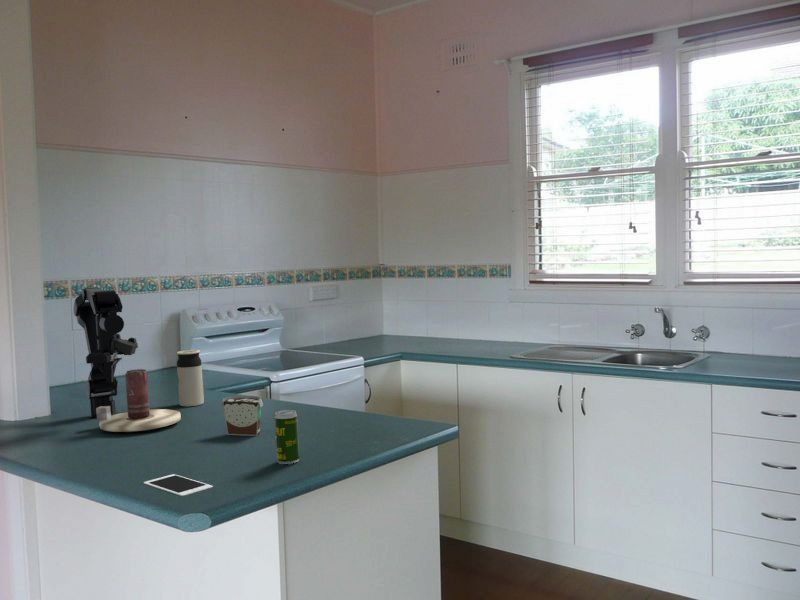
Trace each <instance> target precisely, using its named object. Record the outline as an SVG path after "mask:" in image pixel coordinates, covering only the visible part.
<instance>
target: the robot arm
mask: <svg viewBox="0 0 800 600" xmlns="http://www.w3.org/2000/svg"><path fill="white" fill-rule="evenodd" d="M73 302H74V304H73V315H74V317H76V322H77V324H79V326H80V327H82V328H83V329H84V330H83V331H84V335H85V341H86V342H85V343H86V345H87V351H88V354H87V355H86V357H85V360H86V361H85V362H86V364H90V367H91V368H90V372H89V373H88V377H87V381H86V386H85V397H86V398H87V399H88V400H89V404H90V414H91V415H89V416H88V418H93V419H94V418H97V413H96V408H98V407H100V406H110V410H111V416H112V415H115V414H117V411H116V401H115V399H114V397H116V396H118V384H119V383H118V382H119V381H118V380H117V378H116V376H115V372H116V367H117V365H118V363H119V362H120V361H122V360H123V357H119V355H120V356H121V355H123V356H132V355H135V353H136V350H137V349H138V348H139V346H138V342H137V338H135V337H129V338H128V339H127V338H126V339H123V338H122V336H121V334H120V332H122V331H123V329H124V326H125V321H124V319H123V318H122V316H121V315H118V313H122V311H123V304H122V301H121V298H120V296H119V294H118V293H116V290H115V289H109V290H107V289H106V290H103V289H100V288H99V287H97V286H96V287H95V286H94V287H84V288H82V289H81V292H80V294H79V295H78V296H77V297H76V298H75V299H74V301H73Z"/></svg>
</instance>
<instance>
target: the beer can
mask: <svg viewBox="0 0 800 600" xmlns="http://www.w3.org/2000/svg"><path fill="white" fill-rule="evenodd" d="M274 413H275V414H274V432H275V434H274V435H275V448H276V451H275V452H276V461H277V463H278V464H279V465H283V464H288V465H294V464H296V462H297V463H298V462H299V460H300V441H299V425H298V424H299V423H298V414H297V411H296V410H294V409H293V410H292V409H284V410H278V411H276V412H274ZM293 463H294V464H293Z"/></svg>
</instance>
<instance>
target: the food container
mask: <svg viewBox="0 0 800 600" xmlns="http://www.w3.org/2000/svg"><path fill="white" fill-rule="evenodd" d="M220 406H221V407H223V415H224V421H225V426H226V432H227V433H226V434H227V436H249V437H250V436H251V437H258V436H259V435H260V434H261V409H262V407H263V406H264V403H263V400H262V397H261V396H257V395H236V396H228V397H224V398H222V401H221V403H220Z"/></svg>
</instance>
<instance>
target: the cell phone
mask: <svg viewBox="0 0 800 600" xmlns="http://www.w3.org/2000/svg"><path fill="white" fill-rule="evenodd" d="M143 484H144V485H146V486H149V487H153V488H156V489H158V490H162V491H164V492H168V493H171V494H172V495H173V494H174V495H177V496H180V497H184V496H188V495H191V494H195V493H198V492H201V491H204V490H205V491H206V490H208V489H212V488H214V485H211V484H208V483H205V482H201V481H198V480H195V479H191V478H188V477H185V476H182V475H178V474H175V473H172V474H169V475H165V476H162V477H158V478H153V479H150V480H146V481H143Z"/></svg>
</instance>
